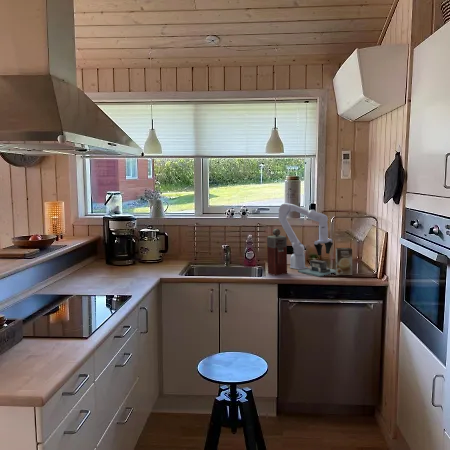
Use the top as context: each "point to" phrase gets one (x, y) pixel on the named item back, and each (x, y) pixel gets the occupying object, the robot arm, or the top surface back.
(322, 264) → the drive
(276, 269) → the brown tall bottle
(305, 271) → the teal square peg board
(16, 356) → the top surface
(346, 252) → the coffee box
